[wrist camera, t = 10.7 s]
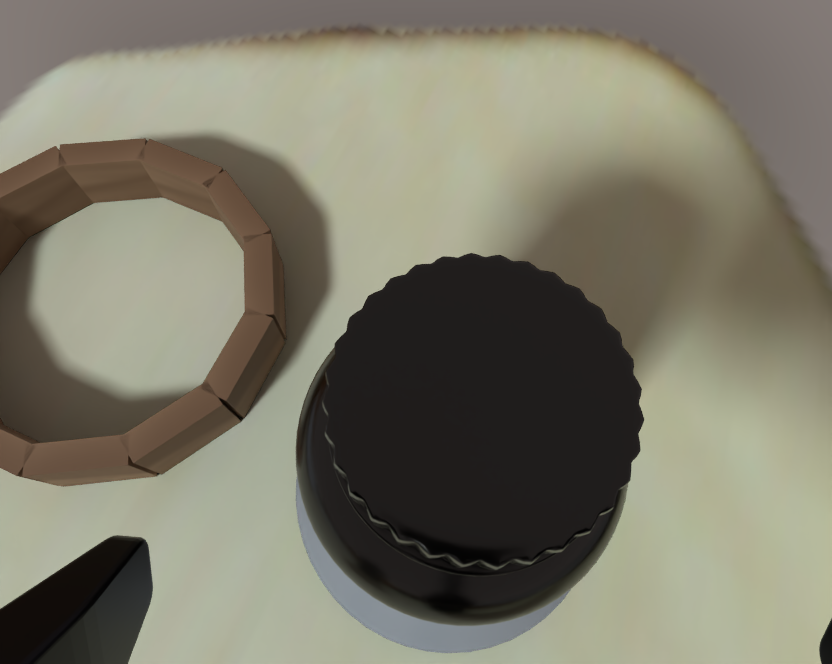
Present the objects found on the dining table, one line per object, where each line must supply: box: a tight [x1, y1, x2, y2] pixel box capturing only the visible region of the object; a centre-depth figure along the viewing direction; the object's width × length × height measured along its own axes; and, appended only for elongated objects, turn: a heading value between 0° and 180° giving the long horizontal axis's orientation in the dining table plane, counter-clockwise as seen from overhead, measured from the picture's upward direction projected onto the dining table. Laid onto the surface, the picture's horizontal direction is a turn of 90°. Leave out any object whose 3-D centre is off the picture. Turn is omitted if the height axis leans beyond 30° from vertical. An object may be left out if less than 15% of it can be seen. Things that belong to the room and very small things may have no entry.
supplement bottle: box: [296, 253, 644, 626], centre depth 14 cm, size 7×7×12 cm
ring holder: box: [0, 138, 286, 487], centre depth 22 cm, size 13×13×2 cm
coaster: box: [296, 478, 571, 653], centre depth 21 cm, size 10×10×2 cm
